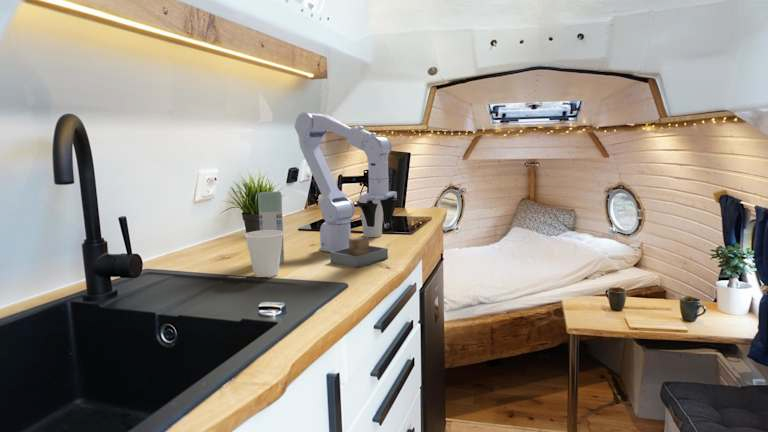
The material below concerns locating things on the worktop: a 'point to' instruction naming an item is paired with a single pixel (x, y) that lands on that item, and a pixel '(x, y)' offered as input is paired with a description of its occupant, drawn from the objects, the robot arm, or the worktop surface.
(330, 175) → the robot arm
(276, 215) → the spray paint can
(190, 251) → the worktop surface
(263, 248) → the cup
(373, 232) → the coffee cup
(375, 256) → the bin
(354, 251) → the walnut block
